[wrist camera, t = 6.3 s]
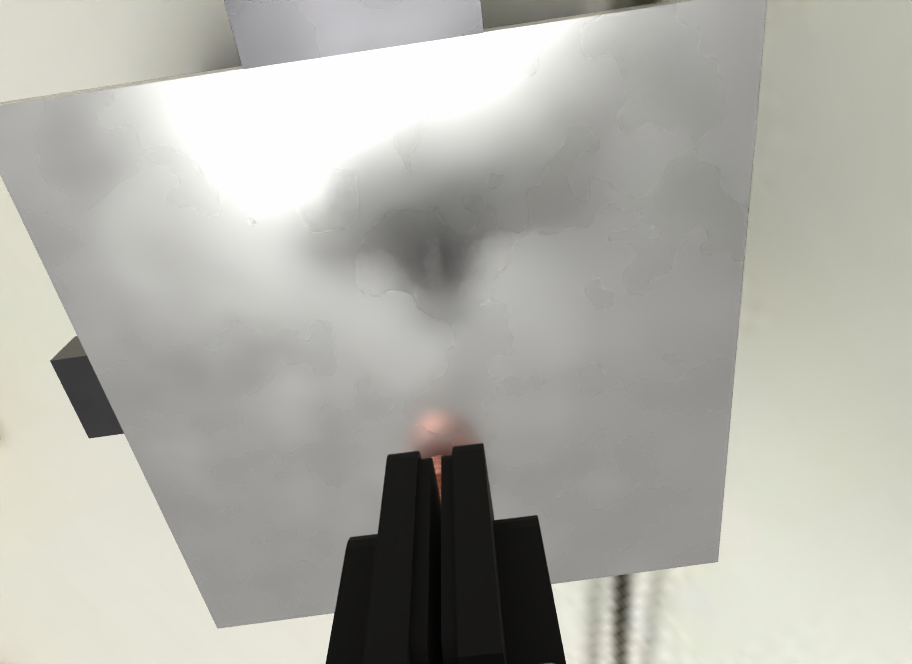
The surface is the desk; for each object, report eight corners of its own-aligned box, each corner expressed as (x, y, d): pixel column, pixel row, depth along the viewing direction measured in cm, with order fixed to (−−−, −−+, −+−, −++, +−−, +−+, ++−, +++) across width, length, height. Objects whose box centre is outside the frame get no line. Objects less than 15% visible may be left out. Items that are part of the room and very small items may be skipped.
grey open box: (594, 22, 26) (717, 40, 15) (604, 365, 33) (692, 540, 22) (112, 95, 26) (-104, 163, 15) (230, 417, 33) (140, 614, 23)
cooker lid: (763, -249, 12) (859, -315, 9) (705, 538, 22) (744, 614, 19) (-101, -111, 12) (-241, -138, 10) (225, 602, 22) (199, 685, 20)
